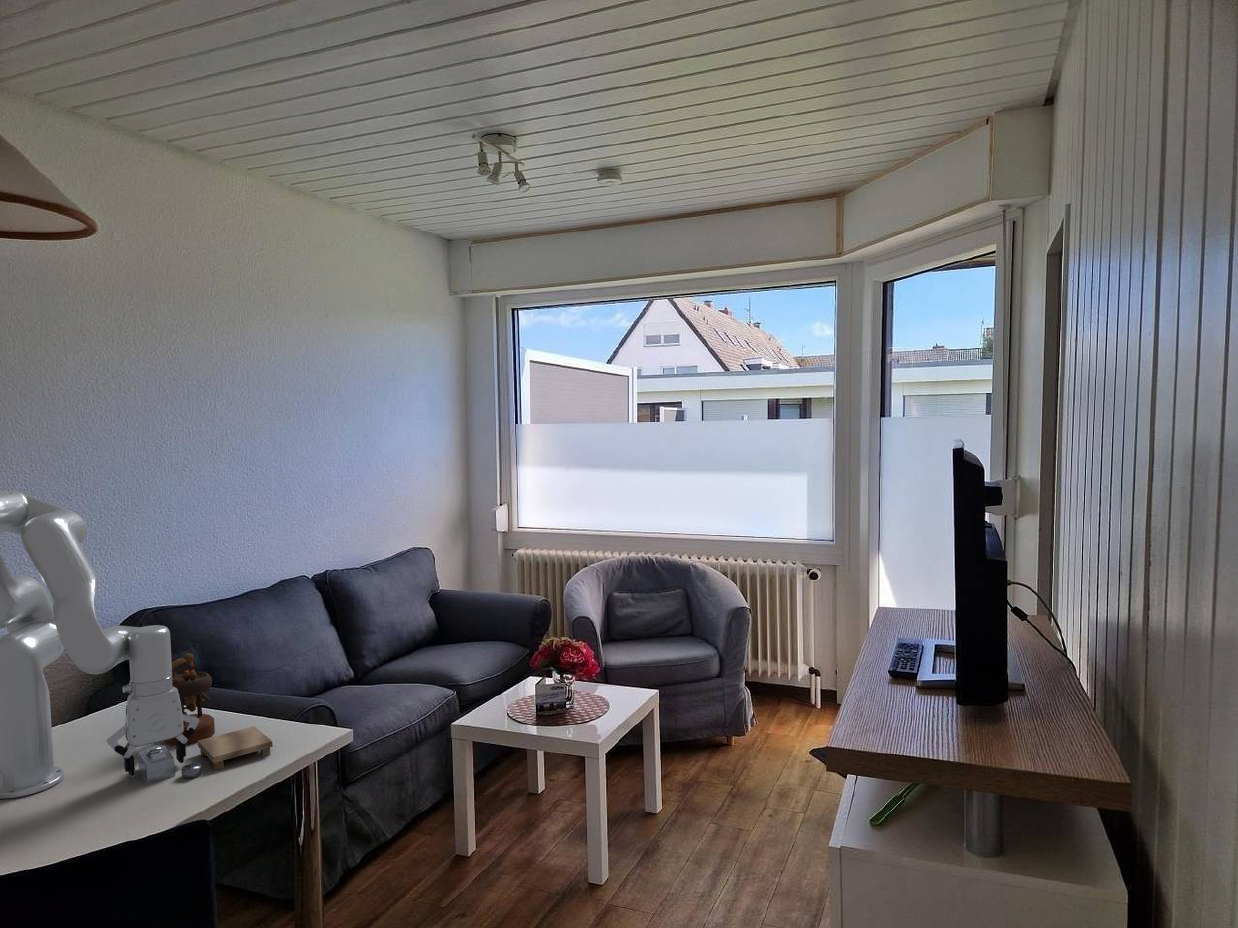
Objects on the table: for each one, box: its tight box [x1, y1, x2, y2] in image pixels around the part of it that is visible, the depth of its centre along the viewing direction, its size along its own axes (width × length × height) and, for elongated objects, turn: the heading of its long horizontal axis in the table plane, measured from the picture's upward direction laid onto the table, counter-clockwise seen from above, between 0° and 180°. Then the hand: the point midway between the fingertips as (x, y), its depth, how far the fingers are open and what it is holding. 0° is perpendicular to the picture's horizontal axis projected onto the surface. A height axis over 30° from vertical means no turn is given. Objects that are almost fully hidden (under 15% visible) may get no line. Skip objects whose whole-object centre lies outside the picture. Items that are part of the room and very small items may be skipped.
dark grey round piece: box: [180, 762, 202, 781], centre depth 167 cm, size 4×4×2 cm
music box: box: [163, 653, 216, 746], centre depth 188 cm, size 15×11×20 cm
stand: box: [197, 726, 273, 771], centre depth 177 cm, size 12×12×3 cm
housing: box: [137, 744, 176, 784], centre depth 169 cm, size 5×9×5 cm, turn 40°
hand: (156, 766), depth 169 cm, fingers open, 8 cm apart
